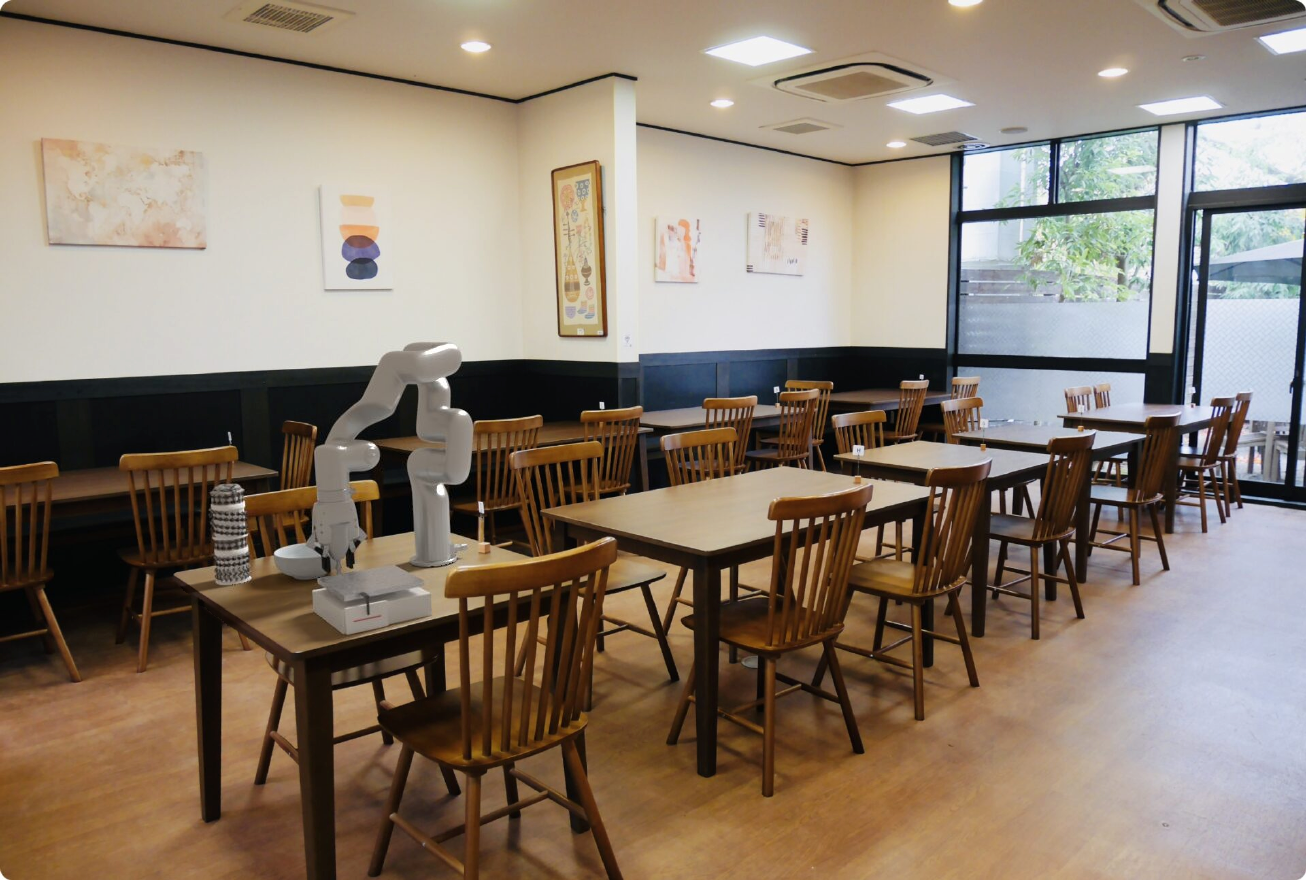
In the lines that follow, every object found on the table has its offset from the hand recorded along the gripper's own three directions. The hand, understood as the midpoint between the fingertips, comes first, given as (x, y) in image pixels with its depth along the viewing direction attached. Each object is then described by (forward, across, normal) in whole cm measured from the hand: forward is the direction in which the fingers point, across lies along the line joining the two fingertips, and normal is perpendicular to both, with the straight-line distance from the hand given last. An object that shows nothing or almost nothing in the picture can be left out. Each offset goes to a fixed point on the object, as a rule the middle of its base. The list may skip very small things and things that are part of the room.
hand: (338, 569), depth 224 cm
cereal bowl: (+7, 0, -23) cm, 24 cm away
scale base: (+6, -1, +19) cm, 20 cm away
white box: (+4, -1, +21) cm, 21 cm away
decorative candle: (+7, +17, -31) cm, 36 cm away
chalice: (+7, 0, 0) cm, 7 cm away
